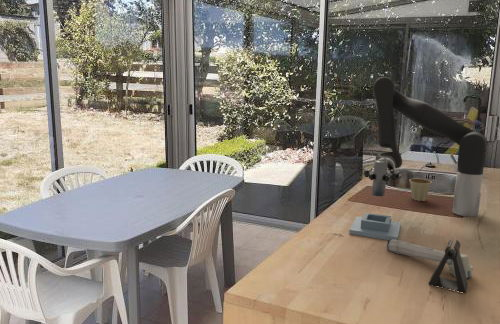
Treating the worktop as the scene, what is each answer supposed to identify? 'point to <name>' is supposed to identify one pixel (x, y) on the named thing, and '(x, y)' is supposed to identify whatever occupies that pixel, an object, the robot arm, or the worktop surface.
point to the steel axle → (379, 178)
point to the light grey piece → (427, 254)
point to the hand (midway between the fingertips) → (378, 178)
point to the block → (375, 226)
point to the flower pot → (419, 189)
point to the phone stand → (458, 267)
